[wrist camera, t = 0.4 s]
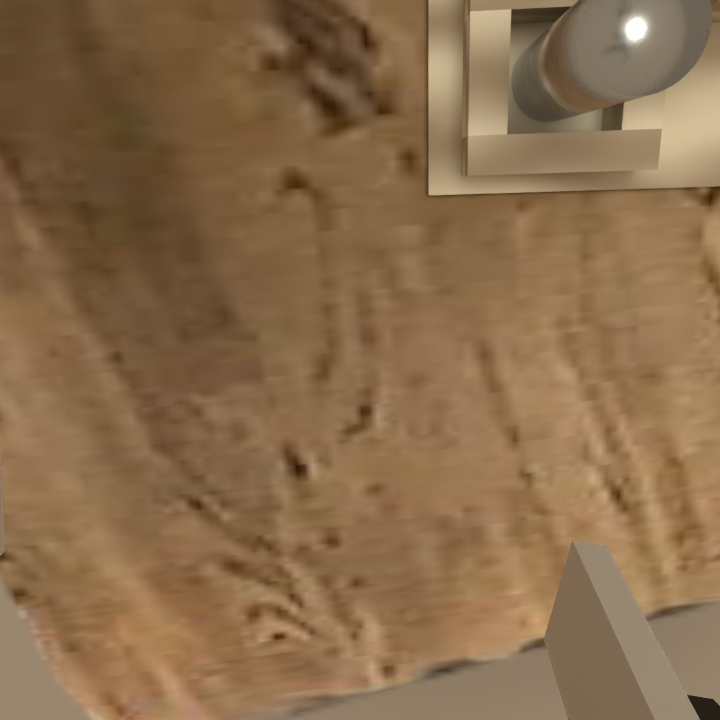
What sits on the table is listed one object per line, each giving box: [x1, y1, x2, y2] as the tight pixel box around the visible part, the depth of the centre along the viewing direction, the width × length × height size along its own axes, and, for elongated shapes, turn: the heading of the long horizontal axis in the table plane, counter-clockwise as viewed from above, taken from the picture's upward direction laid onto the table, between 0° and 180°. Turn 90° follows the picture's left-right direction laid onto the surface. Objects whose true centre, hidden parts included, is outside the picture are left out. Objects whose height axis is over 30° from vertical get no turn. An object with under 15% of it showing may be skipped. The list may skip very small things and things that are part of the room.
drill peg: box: [512, 0, 712, 122], centre depth 28 cm, size 4×4×14 cm
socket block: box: [428, 0, 720, 195], centre depth 32 cm, size 16×20×6 cm
